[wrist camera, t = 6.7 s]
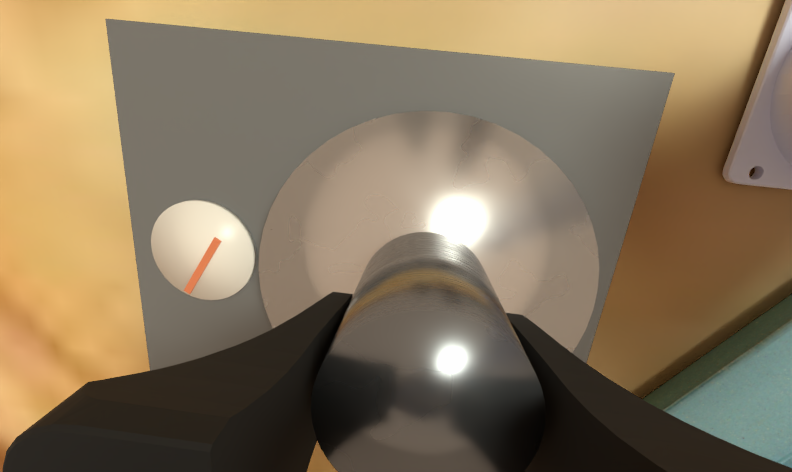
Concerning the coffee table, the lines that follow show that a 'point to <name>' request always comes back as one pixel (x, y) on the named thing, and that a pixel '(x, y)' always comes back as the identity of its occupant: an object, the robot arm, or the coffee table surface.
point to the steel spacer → (427, 369)
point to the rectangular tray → (741, 388)
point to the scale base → (309, 129)
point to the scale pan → (433, 217)
